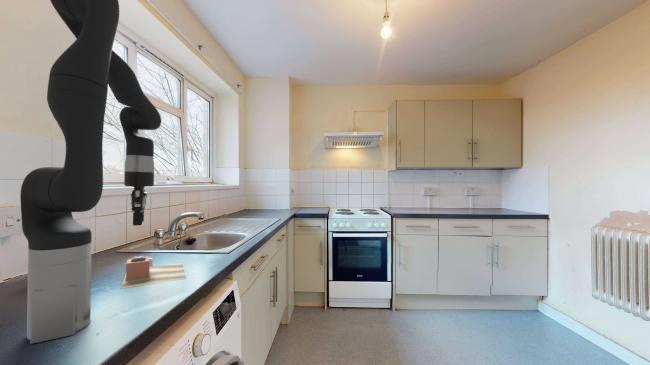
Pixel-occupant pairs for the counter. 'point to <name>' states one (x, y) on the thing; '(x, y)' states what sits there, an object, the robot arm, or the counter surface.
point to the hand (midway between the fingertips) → (138, 223)
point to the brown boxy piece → (138, 268)
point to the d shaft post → (138, 258)
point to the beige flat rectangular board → (158, 275)
